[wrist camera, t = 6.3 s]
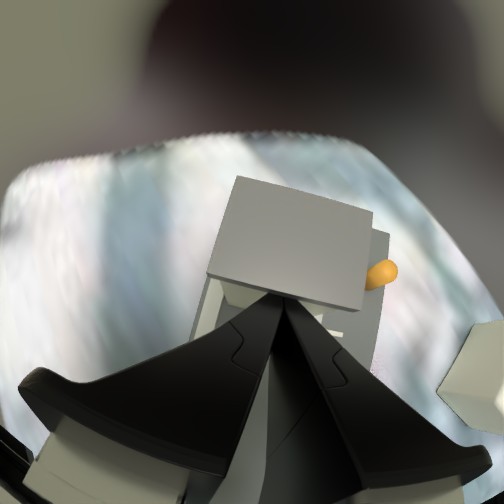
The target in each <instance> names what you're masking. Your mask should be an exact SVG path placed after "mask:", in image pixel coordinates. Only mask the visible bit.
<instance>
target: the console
mask: <svg viewBox="0 0 504 504" xmlns="http://www.w3.org/2000/svg"><path fill="white" fill-rule="evenodd" d="M389 237H390V234H389V233H386V232H383V231H379V230H376V229H373V228H372V231H371V242H370V251H369V260H368V268H367V275H366V283H365V289H364V296H363V302H362V308H361V311H357V312H353V313H352V312H347V311H343V310H338V309H336V310H333V311H330V312H327V313H323V314H320V315H317V316H314V317H315V318H316V319H317V320H318V322H319V323H320V324H321V325H322V326H323V327H324V328H325V329H326V330H327V331H328V332H329V333H330V334H331V335H332V336H333V337H334V338H335V339H336V340H337V341H338V342H339V343H340V344H341V345H342V346H343V348H345V349H346V350H347V351H348V352H349V353H350V354H351V355H352V356H353V357H354V358H355V359H356V360H357V361H358V362H359V363H360V364H361V365H363V366H364V367H365V368H366V369H367V370H368V371H370V367H371V363H372V358H373V353H374V349H375V344H376V339H377V333H378V328H379V322H380V316H381V310H382V303H383V296H384V289H385V284H388V283H390V282H392V281H394V280H395V279H396V277H397V274H398V270H397V266H396V265H395V263H394V262H393V261H391V260H388V251H389ZM243 310H244V308H240V307H236V306H233V305H229V304H228V302H227V300H226V297H225V294H224V292H223V289H222V286H221V284H220V281H219V280H217V279H213V278H209V277H208V275H207V278H206V282H205V285H204V289H203V292H202V296H201V299H200V303H199V306H198V310H197V313H196V317H195V320H194V324H193V328H192V331H191V335H190V339H189V342H190V341H192V340H194V339H196V338H199V337H201V336H203V335H205V334H207V333H209V332H211V331H212V330H214V329H216V328H217V327H219V326H221V325H222V324H223V323H225V322H227V321H228V320H230V319H231V318H233V317H234V316H236V315H237V314H239V313H240V312H241V311H243ZM268 380H269V358H268V361H267V364H266V367H265V370H264V373H263V376H262V379H261V382H260V385H259V388H258V391H257V394H256V397H255V400H254V402H253V405H252V408H251V411H250V414H249V417H248V419H247V422H246V425H245V428H244V430H243V433H242V436H241V439H240V441H239V444H238V447H237V449H236V452H235V454H234V457H233V460H232V462H231V465H230V467H229V470H228V473H227V476H226V478H225V480H224V482H223V483H222V485H221V486H220V488H219V489H218V491H217V493H216V494H215V496H214V497H213V499H212V500H211V502H210V503H209V504H258V502H259V498H260V494H261V489H262V485H263V481H264V476H265V467H266V445H267V416H268Z"/></svg>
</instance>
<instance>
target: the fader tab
mask: <svg viewBox="0 0 504 504" xmlns="http://www.w3.org/2000/svg"><path fill="white" fill-rule="evenodd" d="M372 219H373V212H371V211H368V210H365V209H361V208H358V207H355V206H352V205H348V204H345V203H342V202H338V201H335V200H331V199H328V198H325V197H321V196H317V195H314V194H310V193H307V192H303V191H299V190H295V189H292V188H288V187H284V186H280V185H276V184H272V183H268V182H264V181H259V180H255V179H251V178H247V177H242V176H238V175H237V177H236V180H235V183H234V186H233V189H232V192H231V195H230V198H229V201H228V204H227V207H226V210H225V213H224V216H223V220H222V223H221V226H220V229H219V232H218V235H217V239H216V242H215V245H214V248H213V252H212V255H211V258H210V262H209V265H208V268H207V272H206V273H207V275H208V277H209V278H213V279H217V280H219V281H220V284H221V286H222V289H223V292H224V294H225V297H226V300H227V302H228V304H229V305H233V306H236V307H240V308H244V309H246V308H247V307H249V306H250V305H251V304H253V303H254V302H256V301H257V300H259V299H260V298H261V297H263V296H264V295H266V294H267V293H271V294H275V295H279V296H283V297H288V298H292V299H296V300H298V301H299V302H300V303H301V304H302V305H303V306H304V307H305V308H306V309H307V310H308V311H309V312H310V313H311V314H312V315H313V316H317V315H320V314H323V313H327V312H330V311H333V310H336V309H338V310H343V311H347V312H352V313H353V312H357V311H361V308H362V302H363V296H364V289H365V283H366V275H367V268H368V260H369V251H370V242H371V231H372Z"/></svg>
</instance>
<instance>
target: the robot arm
mask: <svg viewBox="0 0 504 504" xmlns="http://www.w3.org/2000/svg"><path fill="white" fill-rule="evenodd" d="M268 358H269V380H268V416H267V445H266V467H265V476H264V481H263V485H262V489H261V494H260V498H259V502H258V504H465V503H464V495H463V488H462V486H463V485H465V484H467V483H469V482H470V481H472V480H474V479H476V478H477V477H479V476H480V475H482V474H483V473H485V472H486V471H488V470H489V469H490V468H491V467H492V465H493V464H492V460H491V457H490V455H489V453H488V451H487V450H486V448H485V447H484V446H483V445H475V446H471V447H463V446H460V445H458V444H456V443H455V442H453V441H452V440H451V439H449V438H448V437H447V436H446V435H444V434H443V433H442V432H441V431H440V430H438V429H437V428H436V427H435V426H434V425H432V424H431V423H430V422H429V421H428V420H426V419H425V418H424V417H423V416H422V415H420V414H419V413H418V412H417V411H416V410H414V409H413V408H412V407H411V406H410V405H408V404H407V403H406V402H405V401H404V400H402V399H401V398H400V397H399V396H398V395H396V394H395V393H394V392H393V391H392V390H391V389H389V388H388V387H387V386H386V385H385V384H383V383H382V382H381V381H380V380H379V379H378V378H376V377H375V376H374V375H373V374H372V373H371V372H369V371H368V370H367V369H366V368H365V367H364V366H363V365H361V364H360V363H359V362H358V361H357V360H356V359H355V358H354V357H353V356H352V355H351V354H350V353H349V352H348V351H347V350H346V349H345V348H343V346H342V345H341V344H340V343H339V342H338V341H337V340H336V339H335V338H334V337H333V336H332V335H331V334H330V333H329V332H328V331H327V330H326V329H325V328H324V327H323V326H322V325H321V324H320V323H319V322H318V320H317V319H316V318H315V317H314V316H313V315H312V314H311V313H310V312H309V311H308V310H307V309H306V308H305V307H304V306H303V305H302V304H301V303H300V302H299V301H298V300H296V299H292V298H288V297H283V296H279V295H275V294H271V293H267V294H266V295H264V296H263V297H261V298H260V299H259V300H257V301H256V302H254V303H253V304H251V305H250V306H249V307H247V308H246V309H244V310H243V311H241V312H240V313H239V314H237V315H236V316H234V317H233V318H231V319H230V320H228V321H227V322H225V323H223V324H222V325H221V326H219V327H217V328H216V329H214V330H212V331H211V332H209V333H207V334H205V335H203V336H201V337H199V338H196V339H194V340H192V341H190V342H187V343H185V344H183V345H181V346H178V347H176V348H174V349H172V350H169V351H167V352H165V353H162V354H160V355H158V356H155V357H153V358H150V359H148V360H146V361H143V362H141V363H138V364H136V365H133V366H131V367H128V368H126V369H123V370H121V371H118V372H116V373H113V374H111V375H108V376H105V377H103V378H100V379H98V380H95V381H92V382H88V383H78V382H72V381H70V380H68V379H66V378H64V377H62V376H61V375H59V374H57V373H55V372H53V371H52V370H50V369H47V368H44V367H38V368H36V369H34V370H33V371H32V372H30V373H29V374H28V375H27V376H26V377H25V378H24V379H23V381H22V382H21V383H20V385H19V386H18V391H19V393H20V395H21V397H22V398H23V399H24V401H25V402H26V403H27V405H28V406H29V407H30V409H31V410H32V411H33V412H34V414H35V415H36V416H37V417H38V418H39V420H40V421H41V422H42V423H43V424H44V426H45V427H46V428H47V429H48V430H49V431H50V432H51V433H50V435H49V436H48V438H47V440H46V442H45V443H44V445H43V447H42V449H41V451H40V452H39V454H38V456H36V457H35V459H34V456H33V453H32V451H31V450H29V449H28V448H27V447H26V446H25V445H24V444H22V443H21V442H20V441H19V440H17V439H16V438H15V437H14V436H13V435H11V434H10V433H9V432H8V431H7V430H6V429H4V428H3V427H2V426H1V425H0V504H209V503H210V502H211V500H212V499H213V497H214V496H215V494H216V493H217V491H218V489H219V488H220V486H221V485H222V483H223V482H224V480H225V478H226V476H227V473H228V470H229V467H230V465H231V462H232V460H233V457H234V454H235V452H236V449H237V447H238V444H239V441H240V439H241V436H242V433H243V430H244V428H245V425H246V422H247V419H248V417H249V414H250V411H251V408H252V405H253V402H254V400H255V397H256V394H257V391H258V388H259V385H260V382H261V379H262V376H263V373H264V370H265V367H266V364H267V361H268ZM481 504H504V491H503V492H501V493H499V494H497V495H496V496H494V497H492V498H491V499H489V500H487V501H485V502H483V503H481Z"/></svg>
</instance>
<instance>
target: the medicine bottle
mask: <svg viewBox="0 0 504 504" xmlns="http://www.w3.org/2000/svg"><path fill="white" fill-rule="evenodd" d="M437 393H438V395H439V396H440V397H441V398H442V399H443V400H444V401H445V402H446V403H447V404H448V405H449V406H450V407H451V408H452V409H453V411H454V412H455V413H456V414H457V415H458V416H459V417H460V418H461V419H462V420H463V421H464V422H465V423H466V424H467V425H468V426H469V427H470V428H474V429H478V430H482V431H486V432H490V433H495V434H499V435H504V320H499V321H494V322H488V323H482V324H476V325H474V326H473V327H472V329H471V332H470V334H469V336H468V338H467V340H466V342H465V344H464V346H463V347H462V349H461V351H460V353H459V355H458V357H457V359H456V360H455V362H454V364H453V366H452V367H451V369H450V371H449V372H448V374H447V376H446V377H445V379H444V381H443V382H442V384H441V386H440V387H439V389H438V391H437Z"/></svg>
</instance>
